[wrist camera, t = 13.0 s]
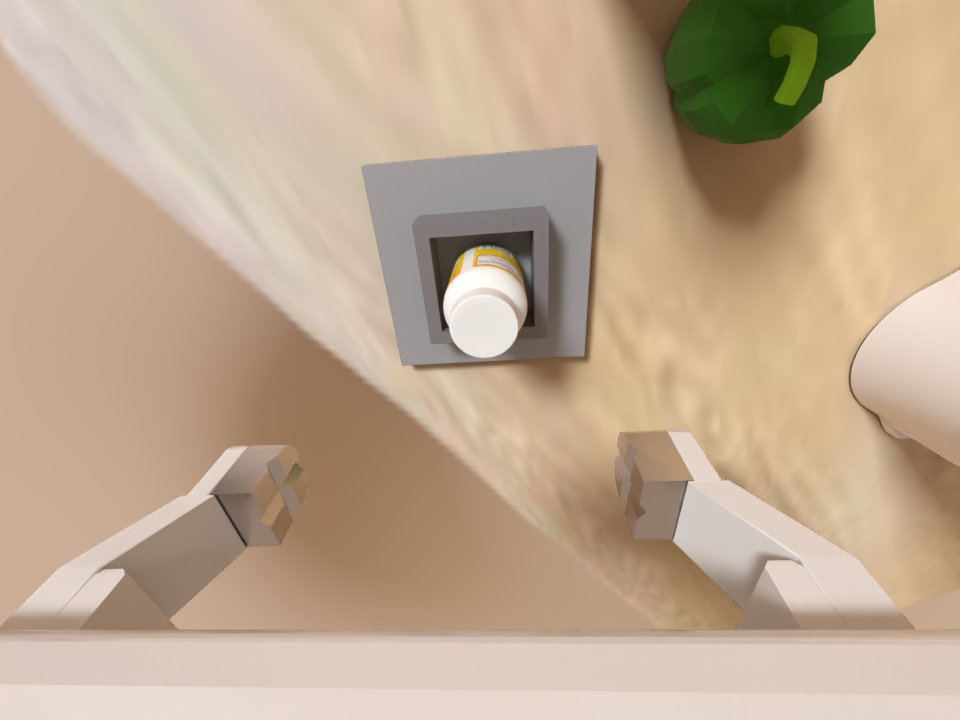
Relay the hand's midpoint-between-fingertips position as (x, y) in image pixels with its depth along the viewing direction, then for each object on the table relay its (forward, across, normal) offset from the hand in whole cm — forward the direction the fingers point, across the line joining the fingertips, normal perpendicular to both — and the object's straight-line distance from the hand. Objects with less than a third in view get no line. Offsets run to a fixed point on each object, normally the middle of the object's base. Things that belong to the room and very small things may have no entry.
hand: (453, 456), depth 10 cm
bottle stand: (+24, 0, +2) cm, 24 cm away
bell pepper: (+24, -15, -10) cm, 30 cm away
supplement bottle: (+23, 0, +3) cm, 23 cm away
